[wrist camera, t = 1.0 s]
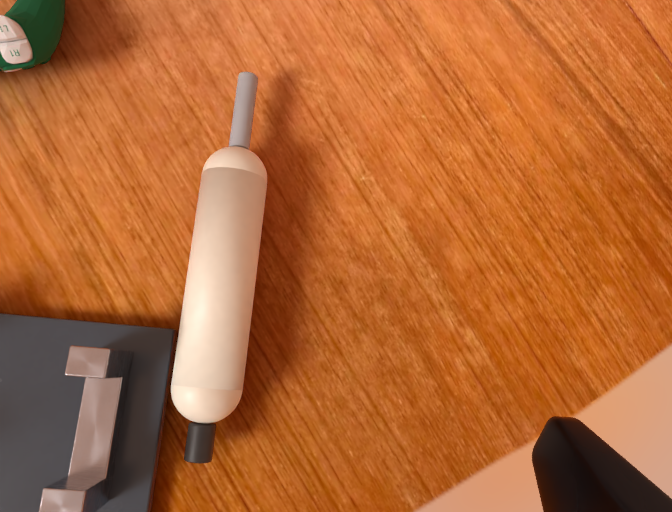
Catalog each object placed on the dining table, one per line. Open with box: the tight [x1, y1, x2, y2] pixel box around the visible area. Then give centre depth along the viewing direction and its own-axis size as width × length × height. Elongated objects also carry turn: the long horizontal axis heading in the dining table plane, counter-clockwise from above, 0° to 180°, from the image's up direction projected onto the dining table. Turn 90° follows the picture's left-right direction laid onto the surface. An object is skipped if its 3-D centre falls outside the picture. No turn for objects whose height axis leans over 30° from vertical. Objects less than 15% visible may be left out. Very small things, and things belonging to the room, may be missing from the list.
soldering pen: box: [171, 72, 267, 463], centre depth 26 cm, size 19×3×3 cm, turn 175°
